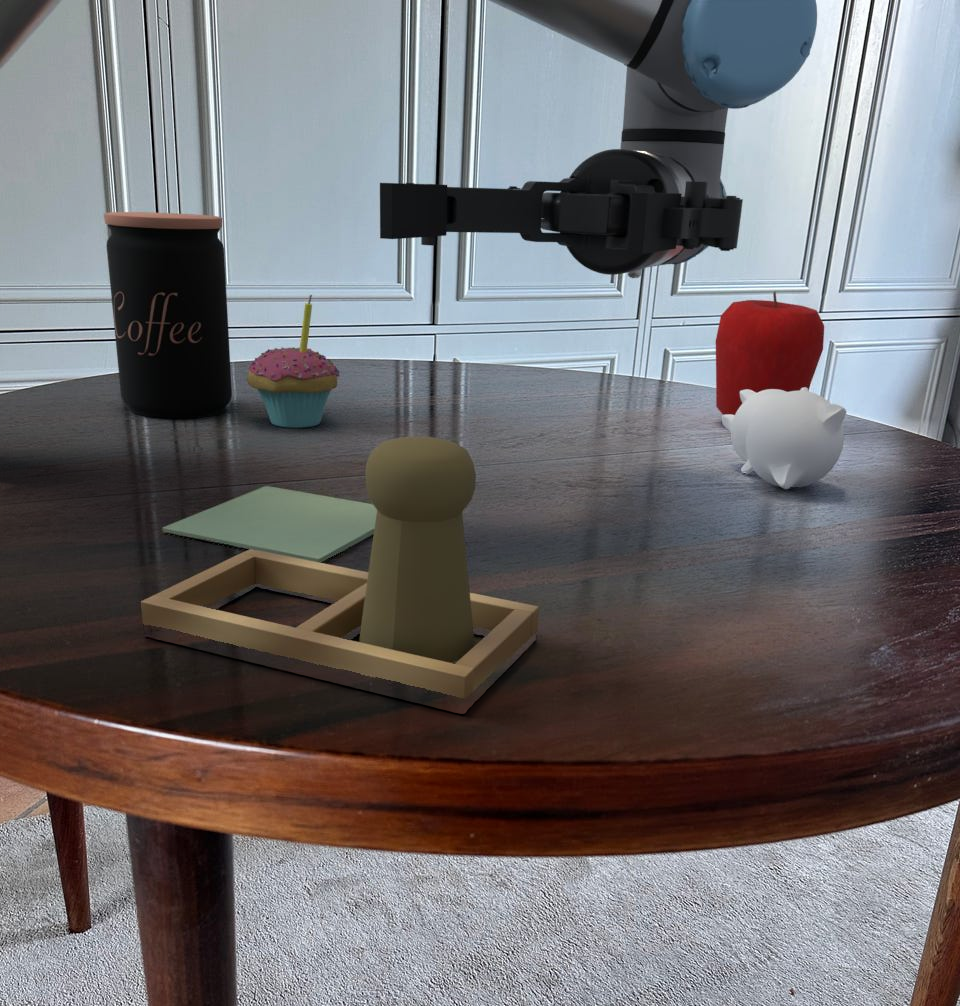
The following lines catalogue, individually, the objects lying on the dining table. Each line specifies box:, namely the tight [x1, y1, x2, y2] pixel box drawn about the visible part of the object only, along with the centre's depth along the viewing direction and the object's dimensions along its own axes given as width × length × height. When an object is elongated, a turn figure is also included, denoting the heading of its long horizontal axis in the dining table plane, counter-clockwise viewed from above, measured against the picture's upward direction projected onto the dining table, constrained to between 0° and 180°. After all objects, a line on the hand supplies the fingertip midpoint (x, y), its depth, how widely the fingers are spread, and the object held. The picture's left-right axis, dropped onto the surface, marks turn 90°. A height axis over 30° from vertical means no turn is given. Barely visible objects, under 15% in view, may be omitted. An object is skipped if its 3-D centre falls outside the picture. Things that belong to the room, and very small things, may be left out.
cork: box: [358, 435, 477, 663], centre depth 50 cm, size 6×6×11 cm
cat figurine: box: [721, 387, 847, 490], centre depth 86 cm, size 9×11×12 cm
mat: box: [161, 485, 377, 563], centre depth 70 cm, size 12×12×1 cm
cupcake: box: [246, 294, 341, 429], centre depth 97 cm, size 9×8×12 cm
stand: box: [140, 549, 540, 698], centre depth 53 cm, size 18×10×2 cm, turn 67°
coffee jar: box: [103, 211, 233, 419], centre depth 99 cm, size 11×11×18 cm
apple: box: [715, 291, 825, 415], centre depth 105 cm, size 11×10×14 cm
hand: (505, 217), depth 51 cm, fingers open, 13 cm apart
